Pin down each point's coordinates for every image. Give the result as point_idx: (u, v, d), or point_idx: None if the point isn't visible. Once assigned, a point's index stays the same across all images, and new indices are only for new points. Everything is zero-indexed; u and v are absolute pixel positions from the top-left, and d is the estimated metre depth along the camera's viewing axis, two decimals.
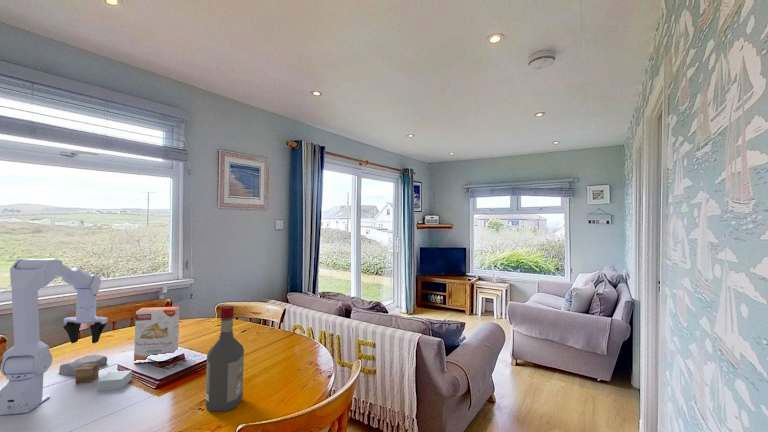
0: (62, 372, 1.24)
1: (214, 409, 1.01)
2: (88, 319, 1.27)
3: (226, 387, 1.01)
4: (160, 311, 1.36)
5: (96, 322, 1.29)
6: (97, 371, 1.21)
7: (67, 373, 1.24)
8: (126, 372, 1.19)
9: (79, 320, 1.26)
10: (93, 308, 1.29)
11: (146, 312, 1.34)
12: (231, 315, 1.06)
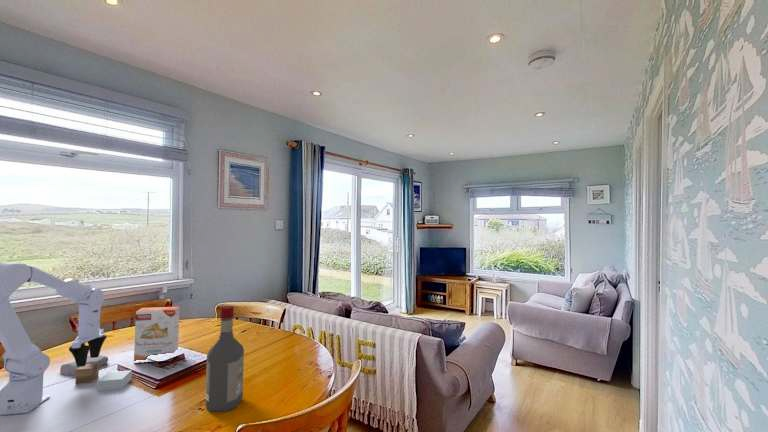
0: (63, 372, 1.24)
1: (214, 409, 1.01)
2: (77, 337, 1.17)
3: (226, 387, 1.01)
4: (160, 311, 1.36)
5: None
6: (97, 371, 1.21)
7: (68, 373, 1.23)
8: (126, 372, 1.19)
9: None
10: (83, 327, 1.17)
11: (146, 312, 1.34)
12: (231, 315, 1.06)
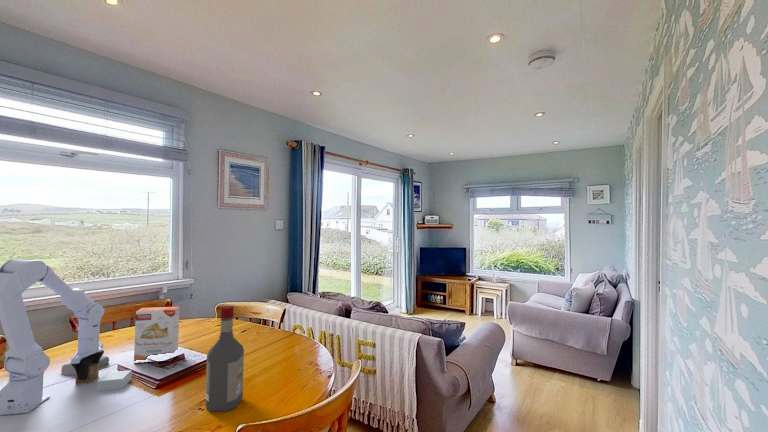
0: (64, 372, 1.24)
1: (214, 409, 1.01)
2: (77, 352, 1.17)
3: (226, 387, 1.01)
4: (160, 311, 1.36)
5: None
6: (97, 371, 1.21)
7: (69, 373, 1.23)
8: (126, 372, 1.19)
9: None
10: (82, 342, 1.17)
11: (146, 312, 1.34)
12: (231, 315, 1.06)
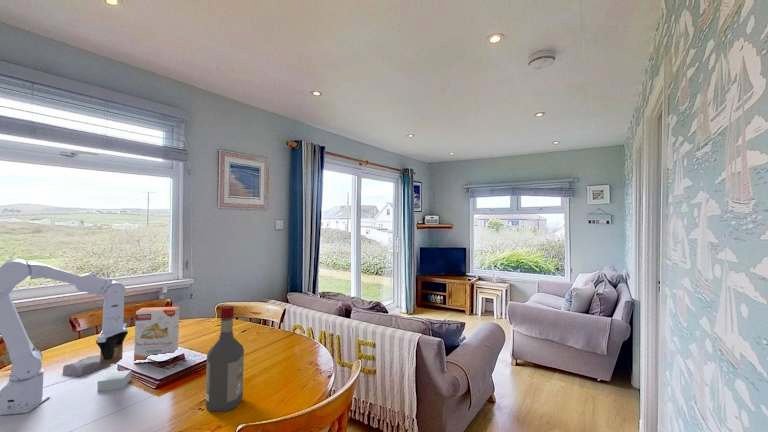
0: (66, 373, 1.24)
1: (214, 409, 1.01)
2: (102, 332, 1.15)
3: (226, 387, 1.01)
4: (160, 311, 1.36)
5: None
6: (121, 352, 1.19)
7: (71, 374, 1.23)
8: (126, 372, 1.19)
9: None
10: (107, 321, 1.15)
11: (146, 312, 1.34)
12: (231, 315, 1.06)
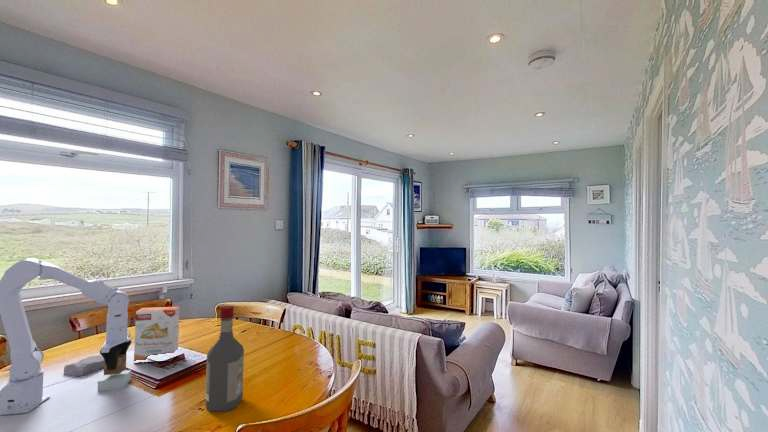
0: (67, 373, 1.23)
1: (214, 409, 1.01)
2: (105, 342, 1.14)
3: (226, 387, 1.01)
4: (160, 311, 1.36)
5: None
6: (125, 362, 1.19)
7: (72, 374, 1.23)
8: (126, 372, 1.19)
9: None
10: (111, 331, 1.14)
11: (146, 312, 1.34)
12: (231, 315, 1.06)
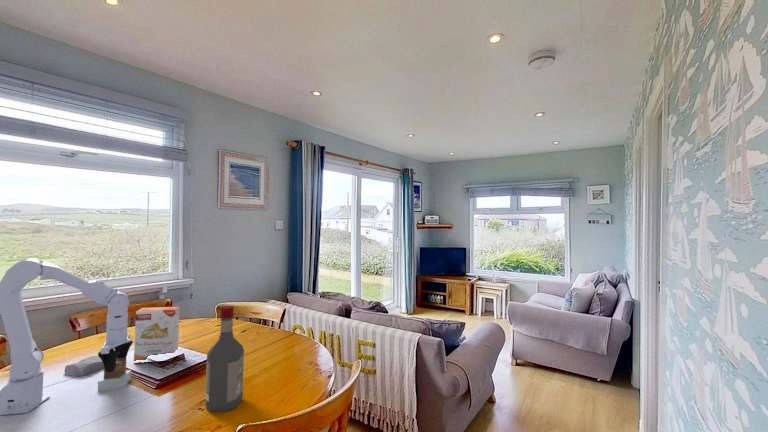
0: (67, 373, 1.23)
1: (214, 409, 1.01)
2: (105, 343, 1.14)
3: (226, 387, 1.01)
4: (160, 311, 1.36)
5: None
6: (125, 366, 1.19)
7: (73, 374, 1.23)
8: (126, 372, 1.19)
9: None
10: (111, 332, 1.14)
11: (146, 312, 1.34)
12: (231, 315, 1.06)
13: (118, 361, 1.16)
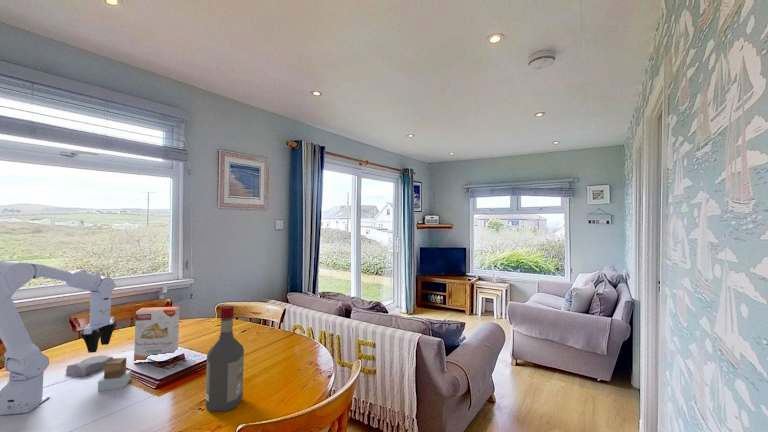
0: (69, 373, 1.23)
1: (214, 409, 1.01)
2: (89, 324, 1.19)
3: (226, 387, 1.01)
4: (160, 311, 1.36)
5: None
6: (125, 366, 1.19)
7: (74, 374, 1.23)
8: (126, 372, 1.19)
9: None
10: (94, 314, 1.19)
11: (146, 312, 1.34)
12: (231, 315, 1.06)
13: (118, 361, 1.16)
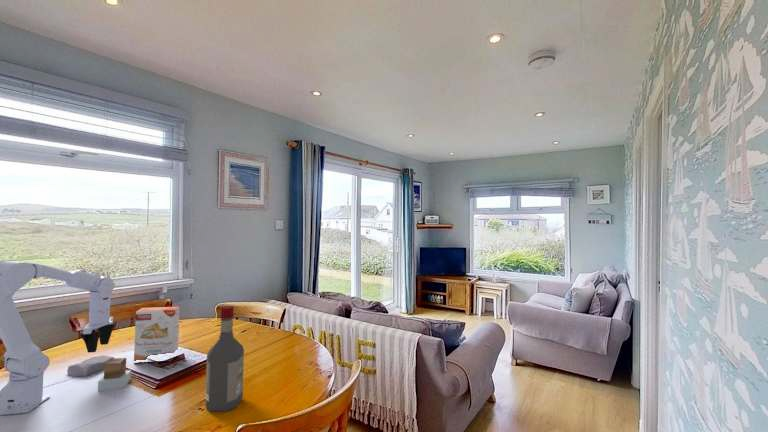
0: (70, 373, 1.23)
1: (214, 409, 1.01)
2: (88, 324, 1.19)
3: (226, 387, 1.01)
4: (160, 311, 1.36)
5: None
6: (125, 366, 1.19)
7: (76, 374, 1.23)
8: (126, 372, 1.19)
9: None
10: (94, 314, 1.19)
11: (146, 312, 1.34)
12: (231, 315, 1.06)
13: (118, 361, 1.16)
